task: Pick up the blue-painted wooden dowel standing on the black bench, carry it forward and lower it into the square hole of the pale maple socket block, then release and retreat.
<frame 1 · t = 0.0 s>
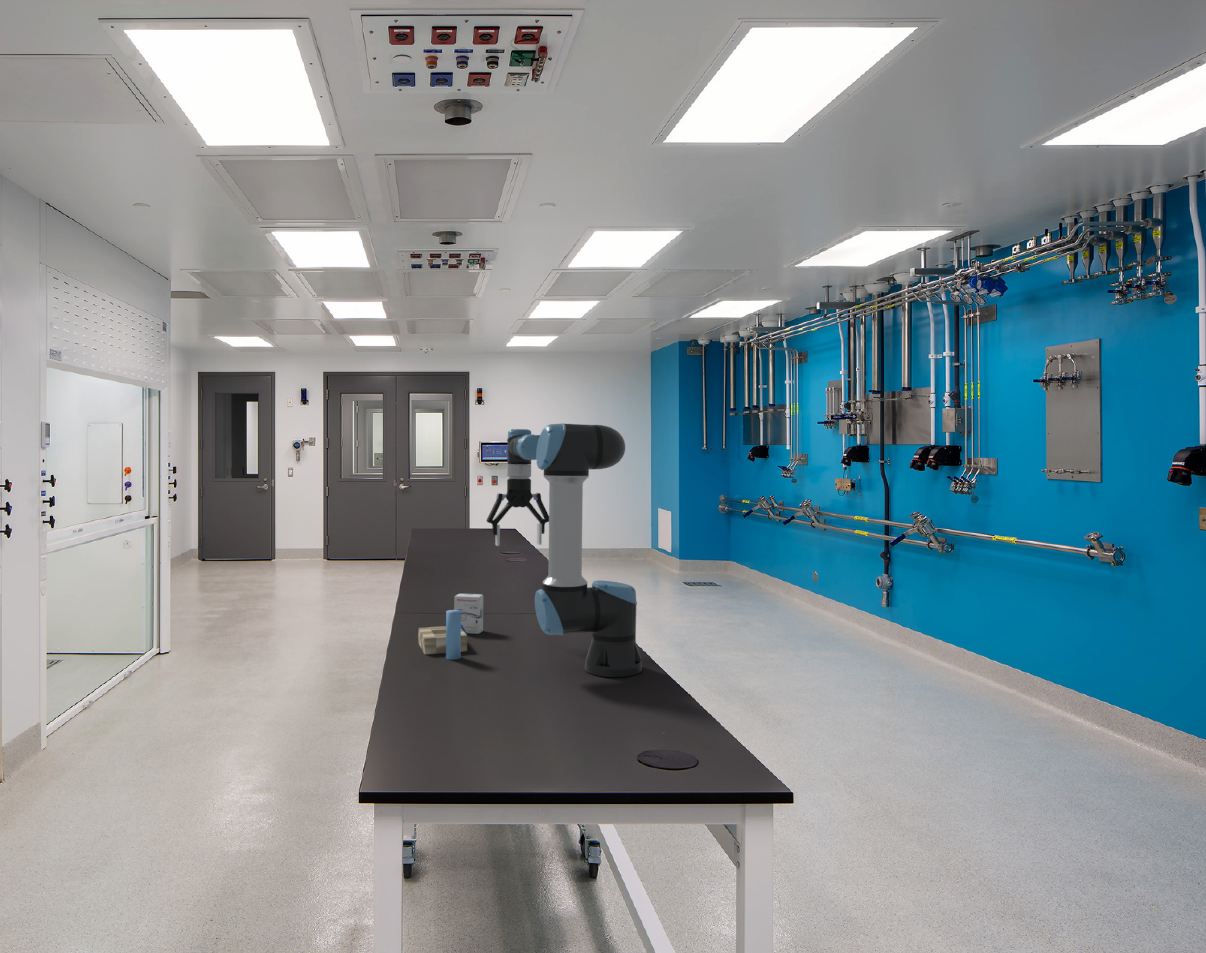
hand: (518, 544, 246), 28 cm above the table, fingers open, 13 cm apart
peg: (453, 657, 215), on the table
ink box: (468, 632, 247), on the table
socket block: (442, 647, 227), on the table
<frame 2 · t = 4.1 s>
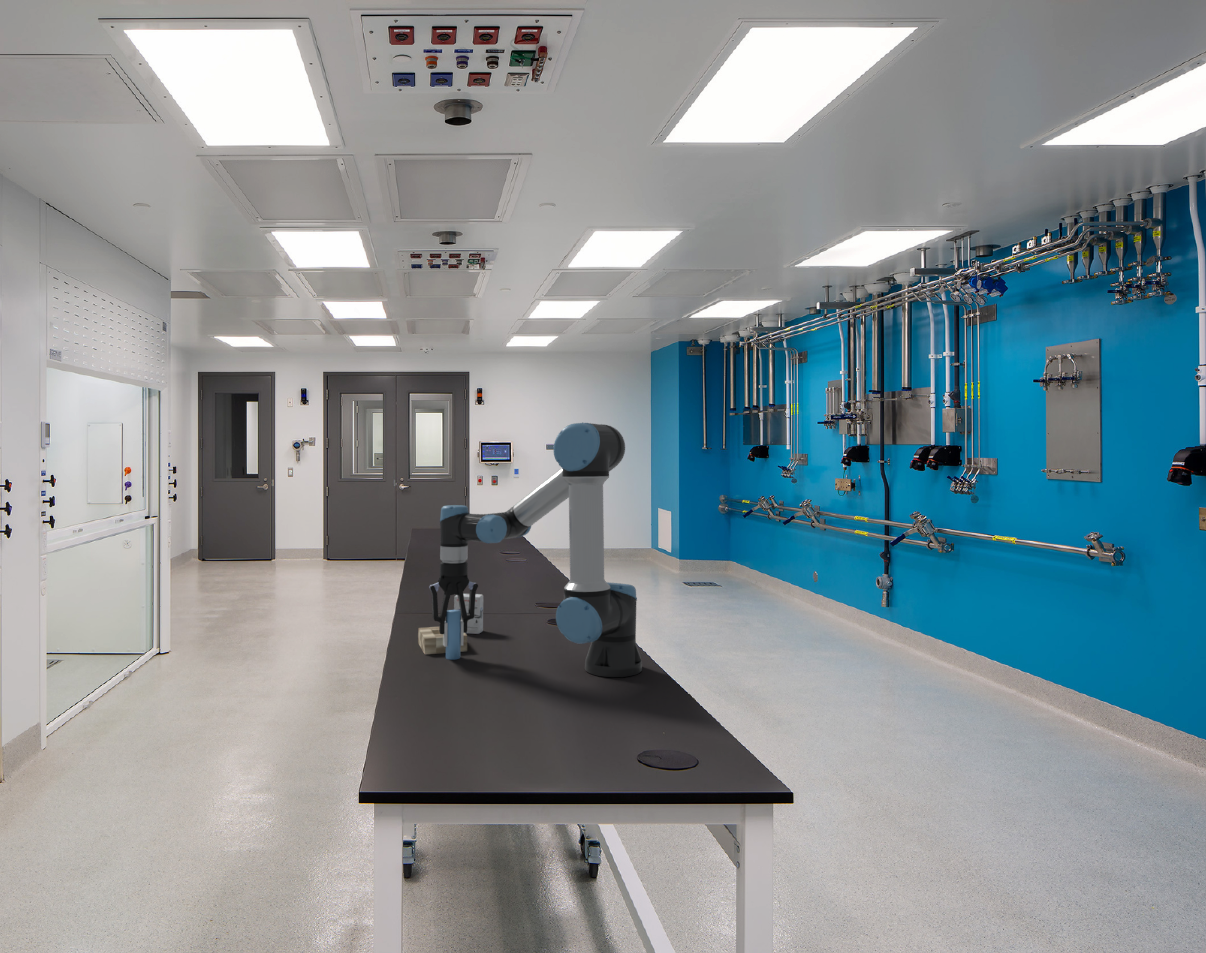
hand: (453, 644, 215), 4 cm above the table, fingers closed on peg, 4 cm apart
peg: (453, 657, 215), on the table, touching gripper
everything else where it was.
when the fingers open (6 cm above the table, at t = 8.7 s): peg drops 2 cm, resting in socket block.
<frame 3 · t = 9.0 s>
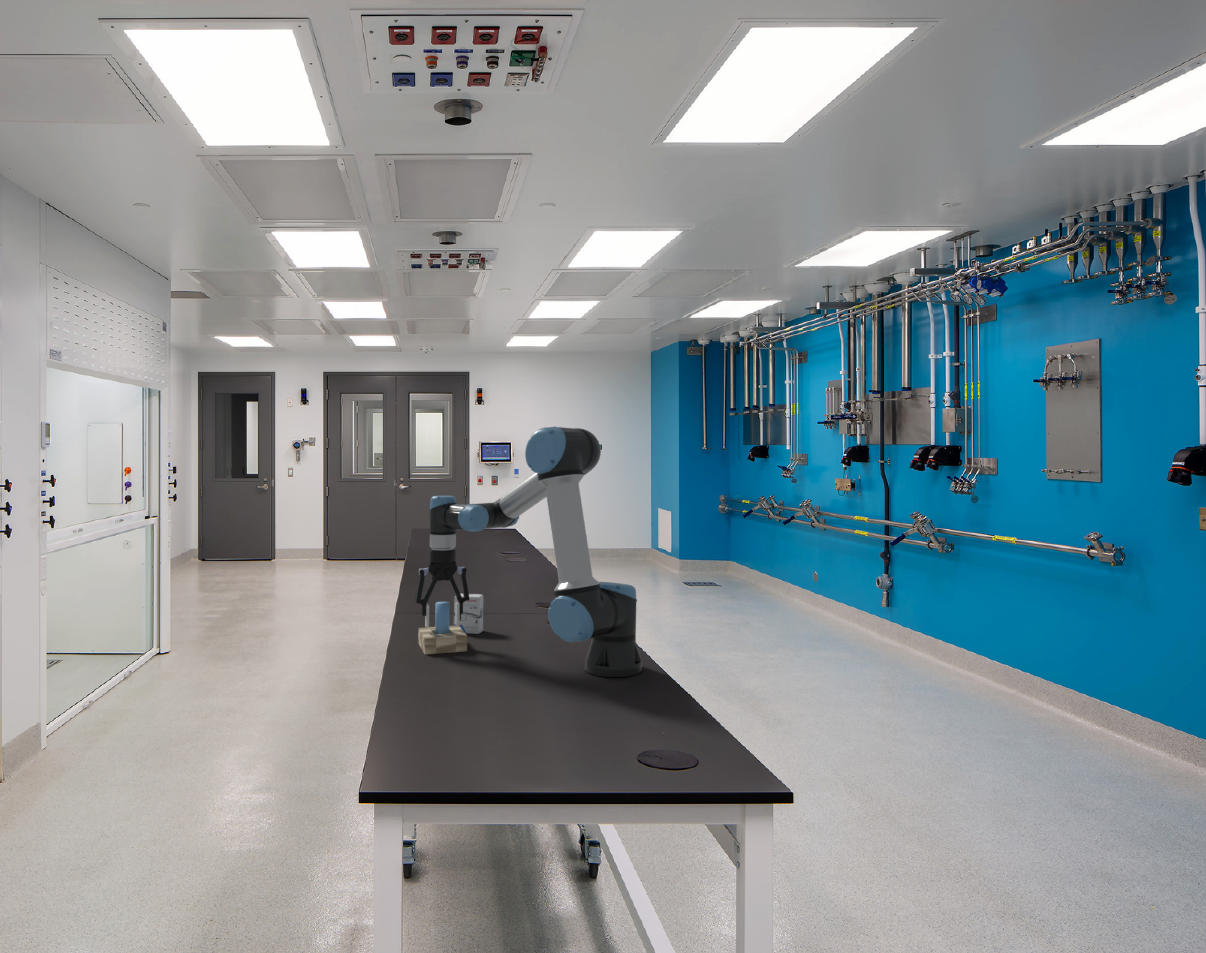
hand: (442, 625, 227), 6 cm above the table, fingers open, 8 cm apart
peg: (442, 647, 227), resting in socket block
everything else where it was.
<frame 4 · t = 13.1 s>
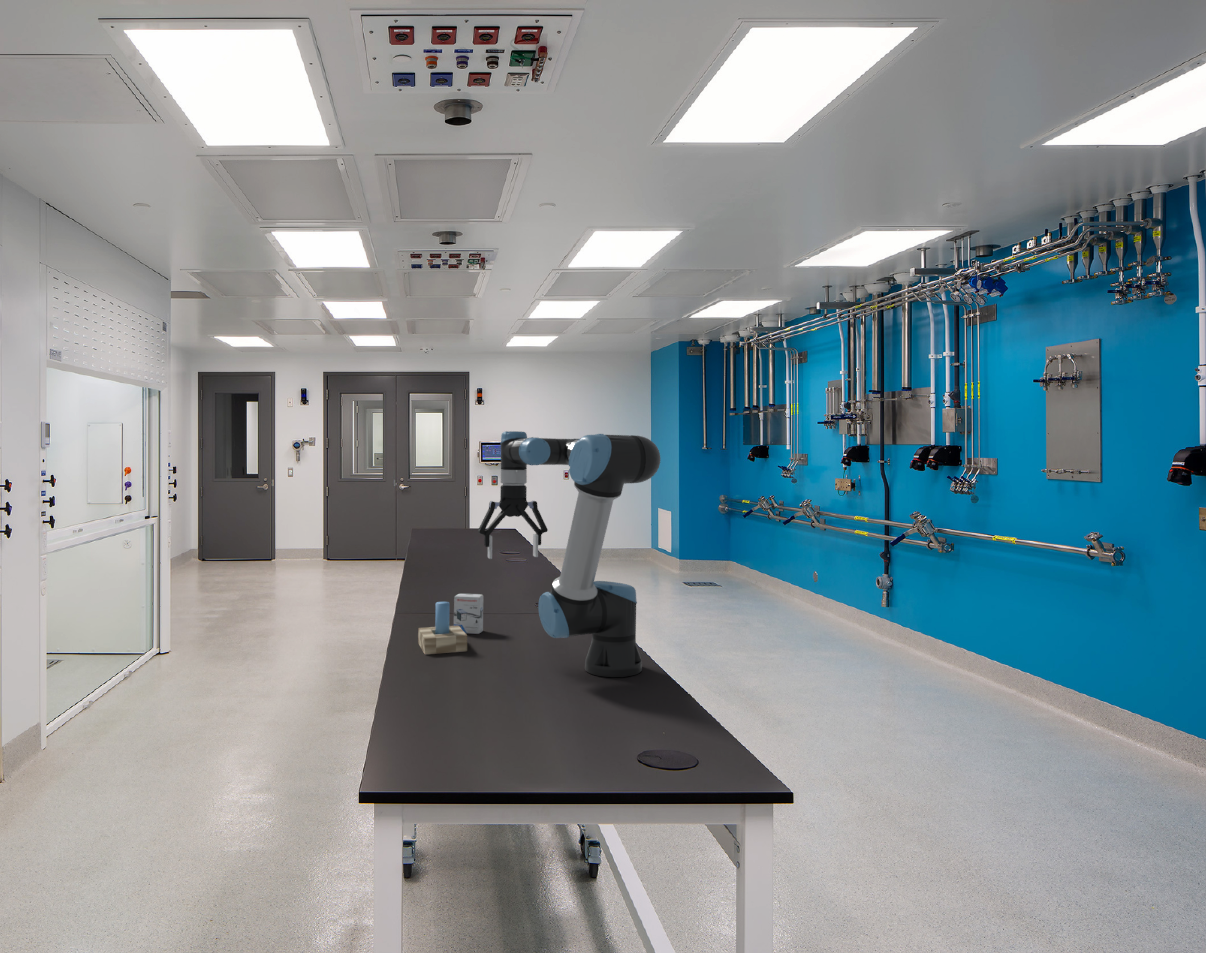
hand: (512, 557, 225), 27 cm above the table, fingers open, 13 cm apart
nothing on the table moved.
at the end: peg 0.1 cm off-centre on the socket block, point 0.0 cm above the socket block's base; peg tilted 0°; the gripper is holding nothing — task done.
